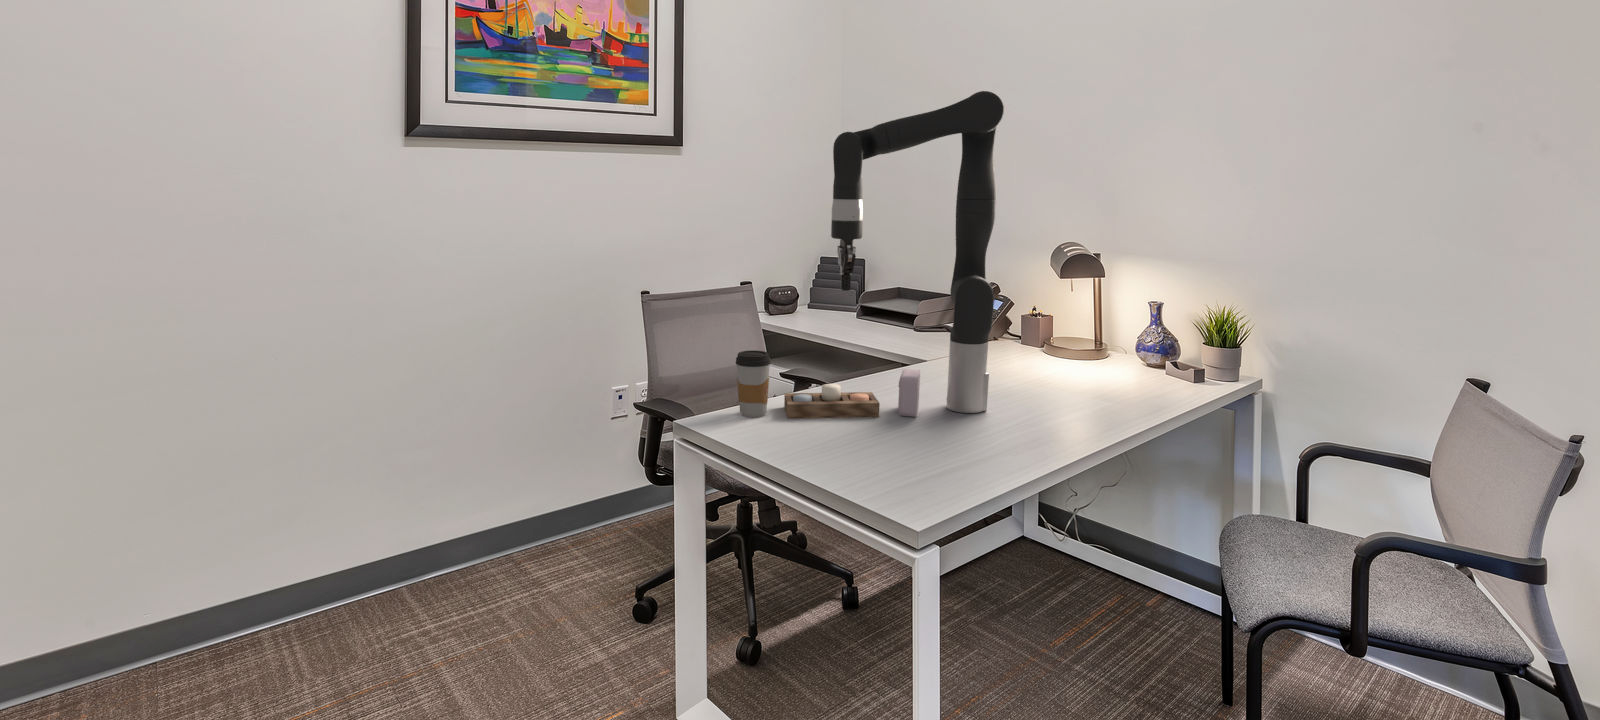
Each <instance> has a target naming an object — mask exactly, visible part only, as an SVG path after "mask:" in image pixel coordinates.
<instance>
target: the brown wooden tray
mask: <svg viewBox="0 0 1600 720" xmlns="http://www.w3.org/2000/svg"><path fill="white" fill-rule="evenodd" d="M855 393H862V394H867V395H869V401H850V395H851V394H855ZM797 394H807V395H811V396H812V401H807V402H793V396H794V395H797ZM783 398H784V402H783V403H784V405H783V407H784V410H785V414H786V418H787V420H789V419H796V420H797V419H837V418H838V419H841V418H842V419H844V418H847V419H849V418H853V419H854V418H880V406H881V405H880V401H879V400H878V399H877V398H876V395H875V394H874V393H873V392H872V391H867V392H866V391H864V392H863V391H861V392H860V391H859V392H858V391H857V392H856V391H855V392H854V391H853V392H852V391H851V392H850V391H849V392H841V399H840V400H839V401H824V400H822V392H800V393H799V392H792V393H787V392H786V393H785V392H784V397H783Z"/></svg>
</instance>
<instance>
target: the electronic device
mask: <svg viewBox="0 0 1600 720" xmlns="http://www.w3.org/2000/svg"><path fill="white" fill-rule="evenodd" d="M920 385H921V369H918V368H917V369H916V368H905V369H902V371H901V374H900V376H899V381H898V403H897V405H898V407H897V408H898V409H897V411H898V415H900V416H901V417H912V418H917V417H918V414H919V413H918V412H919V407H920V388H921V386H920Z"/></svg>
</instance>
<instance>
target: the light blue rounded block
mask: <svg viewBox="0 0 1600 720" xmlns="http://www.w3.org/2000/svg"><path fill="white" fill-rule="evenodd" d="M807 401H812V396H811V395H807V394H797V395H794V396H793V402H807Z"/></svg>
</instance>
